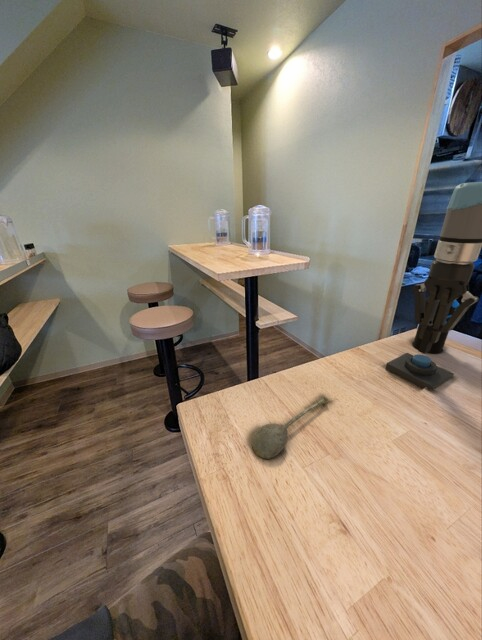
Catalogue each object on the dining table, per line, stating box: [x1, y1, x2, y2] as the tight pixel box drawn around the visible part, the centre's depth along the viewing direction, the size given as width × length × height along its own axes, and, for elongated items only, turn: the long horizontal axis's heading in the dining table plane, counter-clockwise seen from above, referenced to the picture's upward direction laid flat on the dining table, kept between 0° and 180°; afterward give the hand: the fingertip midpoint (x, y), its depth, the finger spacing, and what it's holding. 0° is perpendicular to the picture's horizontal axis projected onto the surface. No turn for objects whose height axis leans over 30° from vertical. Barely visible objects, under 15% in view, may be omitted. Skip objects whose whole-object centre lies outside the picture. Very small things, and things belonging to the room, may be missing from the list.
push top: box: [412, 353, 432, 368], centre depth 67 cm, size 4×4×2 cm
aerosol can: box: [411, 296, 460, 355], centre depth 77 cm, size 8×8×20 cm
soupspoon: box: [251, 396, 330, 460], centre depth 54 cm, size 22×3×7 cm
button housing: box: [384, 352, 455, 392], centre depth 68 cm, size 12×10×4 cm
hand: (424, 351), depth 66 cm, fingers closed
